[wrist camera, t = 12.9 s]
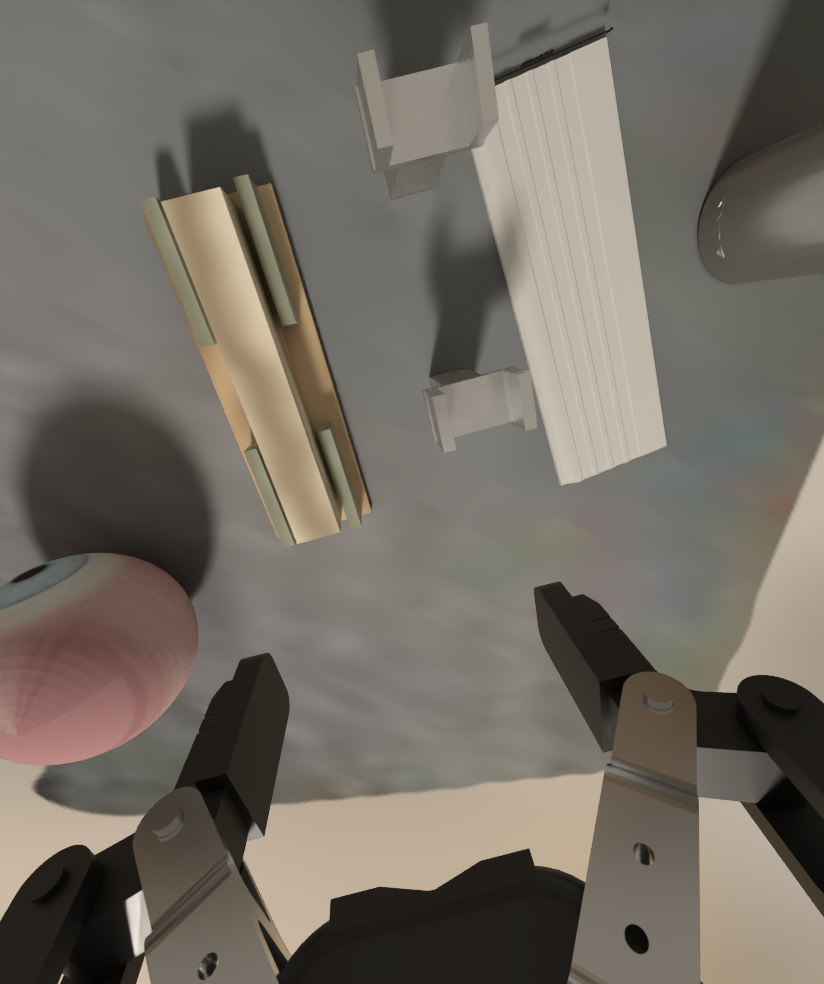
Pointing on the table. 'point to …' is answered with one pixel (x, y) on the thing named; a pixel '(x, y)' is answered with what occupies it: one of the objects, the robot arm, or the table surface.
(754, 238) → the robot arm
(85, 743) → the eyeball
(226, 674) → the table surface
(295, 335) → the rack
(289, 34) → the table surface
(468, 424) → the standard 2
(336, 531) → the rail
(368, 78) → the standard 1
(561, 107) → the baseboard
